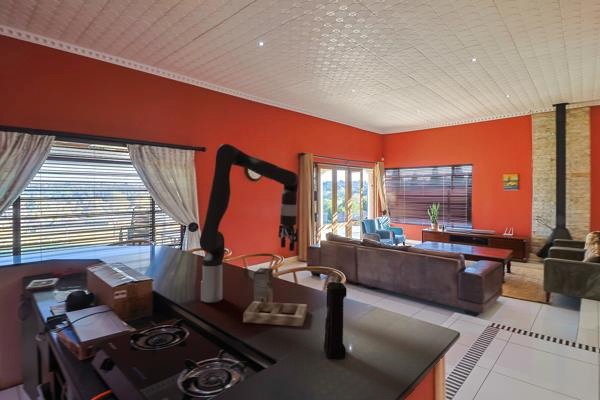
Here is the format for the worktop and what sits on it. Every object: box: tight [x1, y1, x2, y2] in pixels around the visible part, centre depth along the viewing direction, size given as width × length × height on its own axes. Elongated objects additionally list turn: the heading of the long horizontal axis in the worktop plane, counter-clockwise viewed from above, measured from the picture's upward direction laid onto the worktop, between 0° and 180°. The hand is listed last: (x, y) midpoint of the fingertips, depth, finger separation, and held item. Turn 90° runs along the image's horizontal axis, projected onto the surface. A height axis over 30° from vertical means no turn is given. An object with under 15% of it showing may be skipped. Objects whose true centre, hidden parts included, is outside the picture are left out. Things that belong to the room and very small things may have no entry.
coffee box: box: [253, 267, 274, 302], centre depth 142 cm, size 9×6×16 cm
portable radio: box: [323, 279, 347, 360], centre depth 99 cm, size 8×6×25 cm
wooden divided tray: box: [242, 300, 308, 327], centre depth 128 cm, size 24×14×4 cm, turn 82°
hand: (287, 249), depth 142 cm, fingers open, 8 cm apart
